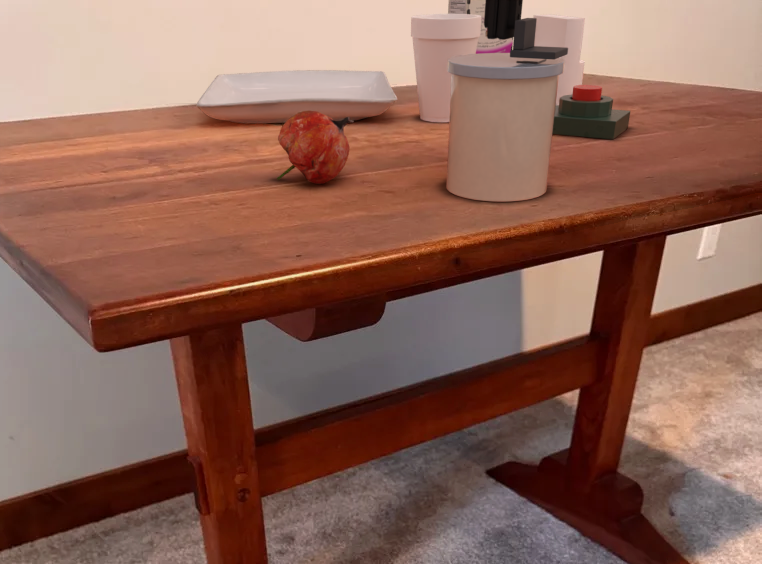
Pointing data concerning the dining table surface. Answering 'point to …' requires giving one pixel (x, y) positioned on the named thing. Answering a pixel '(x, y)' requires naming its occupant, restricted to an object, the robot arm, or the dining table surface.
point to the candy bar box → (474, 3)
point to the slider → (532, 42)
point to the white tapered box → (563, 35)
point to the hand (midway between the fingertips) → (501, 37)
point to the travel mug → (501, 125)
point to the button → (587, 92)
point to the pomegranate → (315, 145)
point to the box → (589, 118)
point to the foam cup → (440, 57)
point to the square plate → (296, 95)
